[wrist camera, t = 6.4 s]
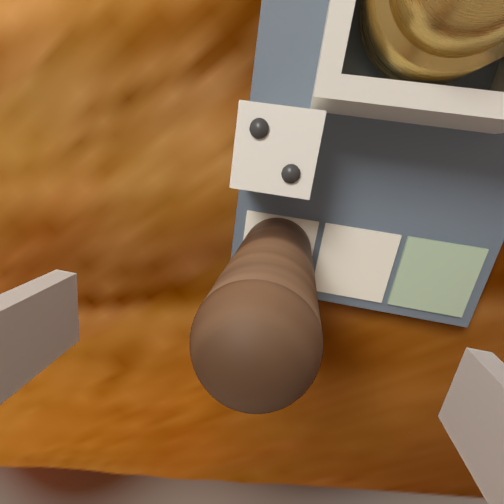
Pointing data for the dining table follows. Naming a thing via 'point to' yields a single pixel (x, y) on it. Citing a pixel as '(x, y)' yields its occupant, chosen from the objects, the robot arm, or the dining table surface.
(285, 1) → the board
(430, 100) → the dome collar
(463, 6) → the dome
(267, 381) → the brown rounded rod
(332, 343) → the dining table surface
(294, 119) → the die
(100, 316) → the dining table surface
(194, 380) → the dining table surface
